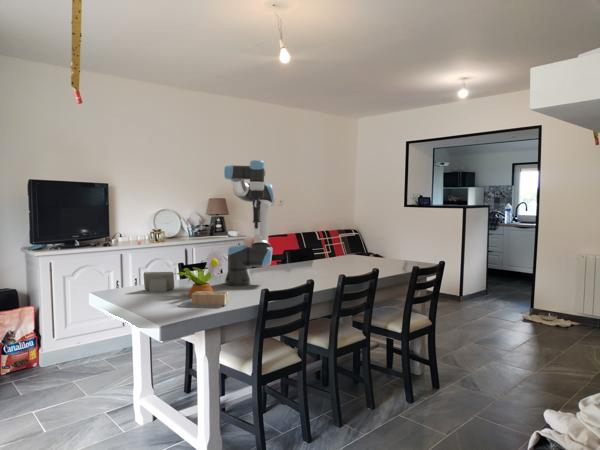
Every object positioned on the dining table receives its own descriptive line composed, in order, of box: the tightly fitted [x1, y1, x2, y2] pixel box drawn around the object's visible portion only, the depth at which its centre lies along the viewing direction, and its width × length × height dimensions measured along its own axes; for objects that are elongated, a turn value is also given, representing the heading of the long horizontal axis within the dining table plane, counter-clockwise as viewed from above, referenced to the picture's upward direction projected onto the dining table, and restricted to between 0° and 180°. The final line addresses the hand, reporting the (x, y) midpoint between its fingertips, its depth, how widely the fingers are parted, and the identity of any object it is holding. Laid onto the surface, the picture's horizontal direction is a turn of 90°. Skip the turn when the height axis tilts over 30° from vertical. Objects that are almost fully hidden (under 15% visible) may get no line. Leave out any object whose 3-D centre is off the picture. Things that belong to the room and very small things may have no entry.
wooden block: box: [191, 291, 229, 306], centre depth 208 cm, size 7×5×16 cm
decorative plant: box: [173, 249, 224, 298], centre depth 227 cm, size 27×24×25 cm
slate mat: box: [177, 299, 224, 309], centre depth 207 cm, size 13×20×1 cm, turn 89°
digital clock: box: [143, 271, 175, 293], centre depth 236 cm, size 16×9×11 cm, turn 87°
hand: (256, 234), depth 227 cm, fingers closed
